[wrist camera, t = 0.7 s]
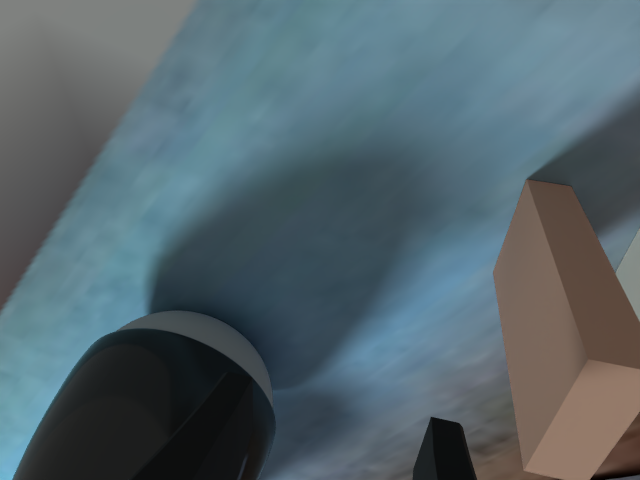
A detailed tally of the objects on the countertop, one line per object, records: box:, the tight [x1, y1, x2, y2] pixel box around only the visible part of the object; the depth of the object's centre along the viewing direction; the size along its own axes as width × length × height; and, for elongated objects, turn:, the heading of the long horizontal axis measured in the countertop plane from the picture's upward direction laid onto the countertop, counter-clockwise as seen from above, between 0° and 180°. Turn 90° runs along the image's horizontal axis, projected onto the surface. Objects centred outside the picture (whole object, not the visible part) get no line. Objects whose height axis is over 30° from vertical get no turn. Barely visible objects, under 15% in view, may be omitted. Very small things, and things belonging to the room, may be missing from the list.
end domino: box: [493, 179, 640, 480], centre depth 15 cm, size 2×4×9 cm, turn 176°
